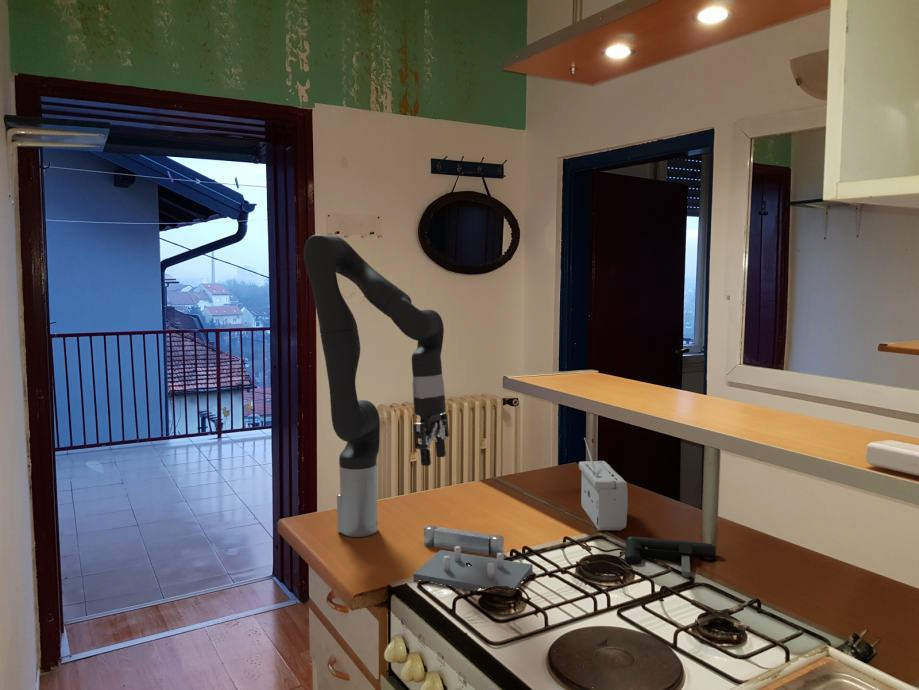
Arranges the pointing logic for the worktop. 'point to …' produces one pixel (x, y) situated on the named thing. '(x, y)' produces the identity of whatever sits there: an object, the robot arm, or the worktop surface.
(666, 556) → the toy gun
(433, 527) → the grey end-post crossbar
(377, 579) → the worktop surface
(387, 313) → the robot arm
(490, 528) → the worktop surface
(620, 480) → the stereo radio cassette player
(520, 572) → the board
